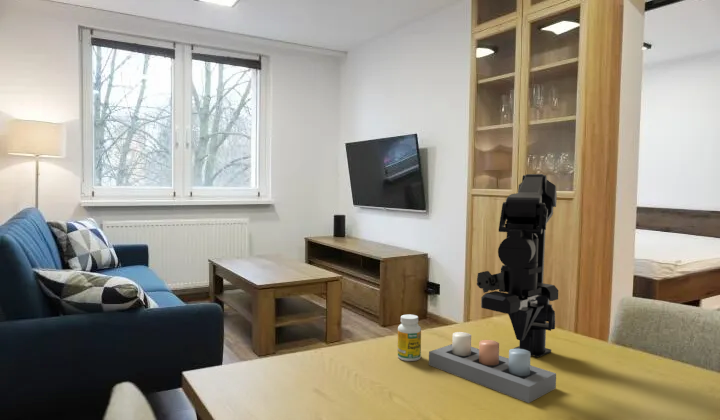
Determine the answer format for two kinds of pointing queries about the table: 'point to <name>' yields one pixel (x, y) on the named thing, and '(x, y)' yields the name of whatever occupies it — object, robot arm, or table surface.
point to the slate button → (519, 362)
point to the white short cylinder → (461, 344)
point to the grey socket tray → (494, 374)
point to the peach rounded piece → (489, 352)
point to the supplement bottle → (409, 338)
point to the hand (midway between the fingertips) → (520, 339)
